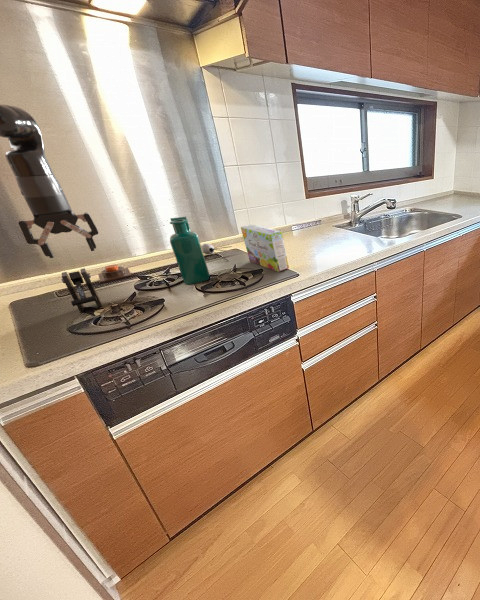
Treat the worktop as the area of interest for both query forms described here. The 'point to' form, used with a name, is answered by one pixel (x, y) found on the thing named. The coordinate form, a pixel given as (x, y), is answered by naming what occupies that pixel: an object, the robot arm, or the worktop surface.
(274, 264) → the snack box
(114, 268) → the button
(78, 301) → the lever
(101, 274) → the button box
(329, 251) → the worktop surface
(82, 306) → the bracket
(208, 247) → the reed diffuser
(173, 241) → the green bottle
